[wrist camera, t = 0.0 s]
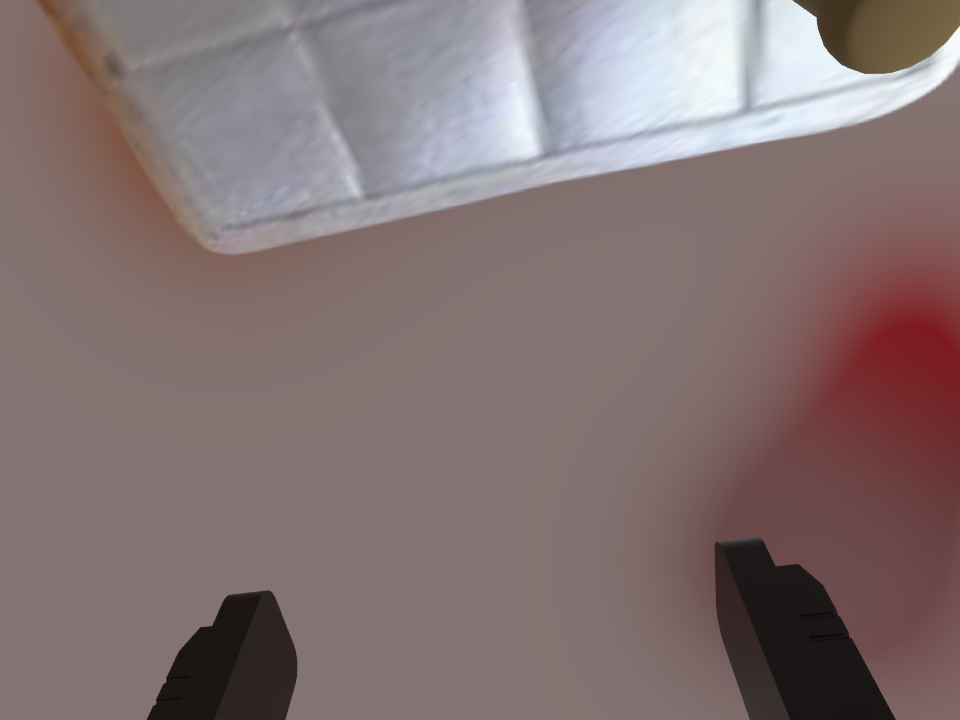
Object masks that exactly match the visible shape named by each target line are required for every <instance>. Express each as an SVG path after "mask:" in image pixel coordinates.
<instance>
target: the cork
mask: <svg viewBox="0 0 960 720" xmlns="http://www.w3.org/2000/svg"><path fill="white" fill-rule="evenodd" d="M793 1H794V2H796V3H797V4H798V5H800V6H801V7H803V8H804V9H805V10H807V11H808V12H810V13H811V14H812V15H814V16H815V17H817V26H818V30H819V33H820V36H821V39H822V41H823V44H824V46H825V48H826V49H827V50H828V52H829V53H830V54H831V55H832V56H833V57H834V58H835V59H836V60H837V61H838V62H839V63H840V64H841V65H843V66H845V67H847V68H850V69H853V70H855V71H858V72H861V73H864V74H885V73H892V72H895V71H899V70H902V69H906V68H909V67H911V66H913V65H915V64H917V63H919V62H921V61H922V60H924V59H926V58H928V57H929V56H931V55H932V54H933V53H934V52H935V51H937V50H938V49H939V48H940V47H941V46H943V45H944V44H945V43H946V42H947V41H948V40H949V38H950V37H951V36H952V35H953V34H954V32H955V31H956V30H957V29H958V27H959V26H960V0H793Z"/></svg>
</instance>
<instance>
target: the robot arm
mask: <svg viewBox="0 0 960 720" xmlns="http://www.w3.org/2000/svg"><path fill="white" fill-rule="evenodd" d="M715 580H716V609H717V616H718V622H719V627H720V631H721V636H722V639H723V643H724V646H725V648H726V651H727V654H728V657H729V660H730V663H731V666H732V669H733V671H734V675H735V677H736V680H737V683H738V686H739V689H740V692H741V695H742V698H743V701H744V704H745V707H746V710H747V712H748V715H749V718H750V720H895V718H894V716H893V714H892V712H891V710H890V708H889V706H888V705H887V703H886V701H885V699H884V697H883V695H882V693H881V692H880V690H879V688H878V686H877V684H876V682H875V680H874V679H873V677H872V675H871V673H870V671H869V670H868V668H867V666H866V664H865V662H864V660H863V659H862V657H861V655H860V653H859V651H858V649H857V647H856V645H855V644H854V642H853V640H852V638H850V637H849V633H848V631H847V629H846V627H845V625H844V623H843V621H842V619H841V618H840V616H839V617H838V614H837V610H836V608H835V606H834V605H833V603H832V601H831V599H830V597H829V595H828V594H827V592H826V590H825V588H824V586H823V585H822V584H821V583H820V582H819V581H817V580H816V579H815V578H814V577H813V576H812V575H810V574H809V573H808V572H807V571H806V570H805V569H803V568H802V567H801V566H800V565H799V564H794V565H785V566H777V567H775V564H774V562H773V560H772V558H771V556H770V554H769V552H768V550H767V548H766V546H765V544H764V542H763V540H762V539H761V538H760V537H752V538H743V539H734V540H726V541H717V542H716V543H715ZM296 678H297V656H296V651H295V647H294V644H293V642H292V639H291V636H290V634H289V631H288V629H287V626H286V624H285V621H284V619H283V616H282V614H281V611H280V608H279V606H278V604H277V601H276V599H275V596H274V595H273V593H272V592H271V591H259V592H250V593H241V594H232V595H228V596H227V597H226V598H225V599H224V601H223V603H222V605H221V607H220V610H219V612H218V614H217V616H216V619H215V621H214V623H213V626H209V627H200V628H199V630H198V631H197V632H196V633H195V634H194V635H193V636H192V637H191V639H190V640H189V641H188V642H187V643H186V644H185V645H184V647H182V649H181V650H180V651H179V652H178V654H177V656H176V658H175V661H174V663H173V665H172V667H171V669H170V671H169V673H168V676H167V678H166V679H167V682H166V683H164V684H163V686H162V688H161V690H160V693H159V695H158V697H157V699H156V701H157V703H156V705H154V706H153V707H152V710H151V712H150V714H149V716H148V718H147V720H285V719H286V716H287V712H288V708H289V704H290V701H291V698H292V694H293V691H294V687H295V683H296Z"/></svg>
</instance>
